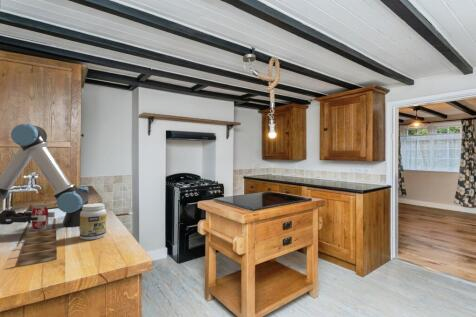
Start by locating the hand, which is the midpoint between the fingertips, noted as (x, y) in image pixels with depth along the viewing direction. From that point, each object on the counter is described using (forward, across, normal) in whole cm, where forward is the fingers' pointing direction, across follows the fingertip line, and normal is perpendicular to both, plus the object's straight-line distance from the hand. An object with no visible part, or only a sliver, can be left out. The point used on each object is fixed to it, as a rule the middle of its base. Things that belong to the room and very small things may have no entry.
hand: (49, 216), depth 139 cm
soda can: (-5, 0, -7) cm, 8 cm away
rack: (+9, +22, -10) cm, 26 cm away
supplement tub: (+24, +4, -10) cm, 27 cm away
